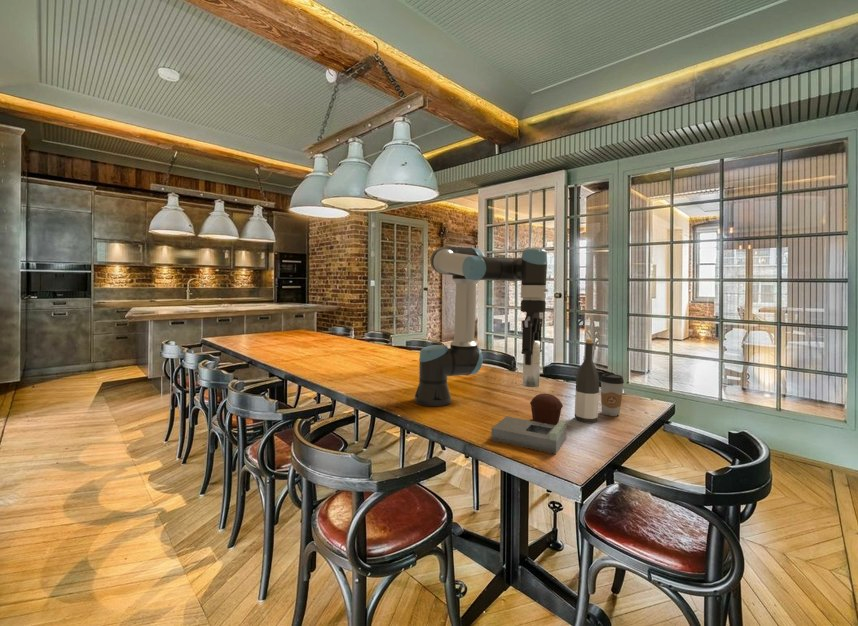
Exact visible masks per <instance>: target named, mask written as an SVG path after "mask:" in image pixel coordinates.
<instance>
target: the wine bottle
mask: <svg viewBox="0 0 858 626" xmlns="http://www.w3.org/2000/svg"><path fill="white" fill-rule="evenodd" d="M584 344H585V349H584V350H585V352H584V355H585V356H584V360H583V362H582V363H581V364H580V367H579V368H578V370H577V374H576V377H575V397H574V400H575V401H574V419H575V420H576V421H578V422H581V423H586V424H587V423H588V424H590V423H591V424H593V423H594V424H595V423H596V422H598V419H599V418H598V417H599V398H600V397H599V396H600V377H599V373H598V370H597V367H596V365H595V363H594V362H593V345H594V343H593V339H592V338H586V340H585V343H584Z"/></svg>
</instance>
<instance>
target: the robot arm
mask: <svg viewBox="0 0 858 626" xmlns="http://www.w3.org/2000/svg"><path fill="white" fill-rule="evenodd" d="M547 256H548V253H547V251H546V250H545V249H542V248H527V249H526V248H525V249H523V250H522V251H521V257H499V256H497V257H496V256H485V254H484V252H483V251H482V250H481V249H480V248H476V247H467V246H466V247H465V246H446V245H445V246H442V247H441V246H440V247H439V248H437V249H435V250H434V251H433V252H432V253H431V256H430V259H429V262H430V266H431V268H432V270H434V271H435V272H436V273H438V274H441V275H447V276H448V275H450V276H452V281H454V283H455V294H454V295H455V296H454V299H455V300H454V329H453V335H454V337H453V340H452V341H451V342H450V343H449V344H450V347H449V346H448V345H446V344H434V345H428V346H427V345H426V346H425V347H423V348H421V349H420V352H419V359H418V361H419V368H418V369H419V371H418V373H419V376H418V385H417V389H416V390H415V394H414V402H415V404H417V405H419V406H425V407H443V406H448V405H449V404H451V403H452V396H451V394H450V393H451V392H450V389H449V385H448V377H454V376H457V377H458V376H470V375H476V374H477V373H478V372H479V371H480V370H481V368H482V365H483V361H484V357H483V351H482V349H481V348H480V347H479V346H478V343H477V342H476V341H475V332H476V331H475V329H476V325H475V324H476V303H477V301H476V300H477V299H476V298H477V296H476V295H477V284H478V283H479V282H480V281H501V282H502V281H504V282H506V281H507V282H520V281H521V282H520V283H521V284H520V299H521V300H520V312H522V313H526V314H525V317H524V319H523V320H521V321H522V322H521V325H522V326H521V327H522V332H521V333H522V338H521V340H522V341H521V352H520V353H521V354H522V355H523V354H524V375H528V376H533V365H534V354H533V345H534V340H537V341H540V353H542V352H543V349H542V334H543V333H542V330H543V329H542V328H543V318H541V317H540V316H541V315H540V313H545V312H547V311H546V307H547V306H546V305H547V303H546V300H545V299H546V298H547V297H546V296H547V292H548V291H549V289H548V288H547V275H548V274H547V273H548V272H547V271H548V257H547Z"/></svg>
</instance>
